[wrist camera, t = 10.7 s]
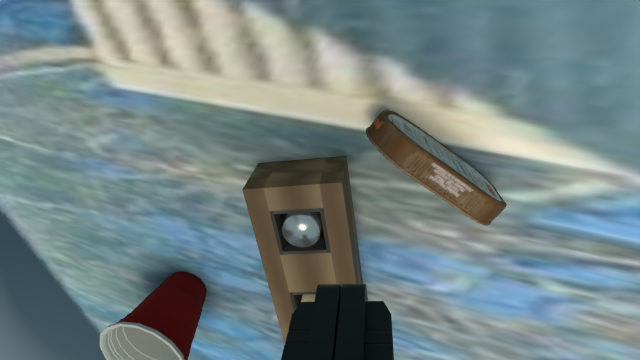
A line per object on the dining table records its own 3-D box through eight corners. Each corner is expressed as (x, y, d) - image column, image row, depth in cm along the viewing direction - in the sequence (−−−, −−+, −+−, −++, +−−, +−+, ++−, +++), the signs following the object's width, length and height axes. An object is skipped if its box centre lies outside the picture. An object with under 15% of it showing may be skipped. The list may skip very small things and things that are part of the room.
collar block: (293, 306, 54) (284, 342, 49) (258, 163, 44) (242, 189, 39) (365, 305, 52) (364, 342, 47) (346, 156, 42) (342, 182, 37)
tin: (364, 119, 40) (362, 152, 33) (383, 95, 39) (385, 123, 31) (475, 197, 43) (495, 244, 35) (497, 176, 41) (523, 221, 34)
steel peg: (295, 219, 46) (285, 248, 42) (289, 190, 45) (278, 216, 40) (328, 217, 46) (322, 246, 41) (323, 188, 44) (316, 214, 39)
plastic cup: (144, 250, 52) (86, 319, 42) (222, 264, 52) (183, 338, 41) (152, 307, 58) (102, 381, 47) (222, 320, 57) (188, 398, 47)
